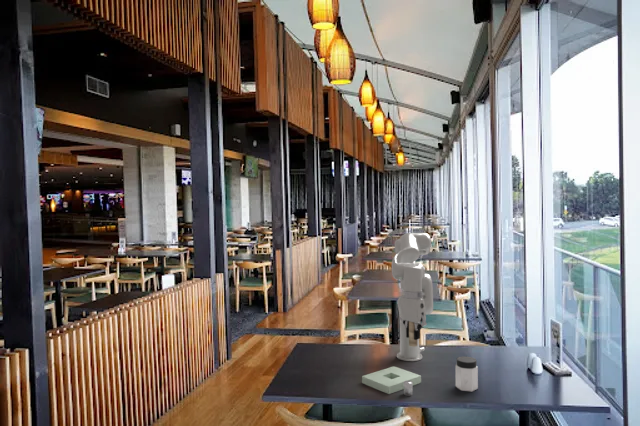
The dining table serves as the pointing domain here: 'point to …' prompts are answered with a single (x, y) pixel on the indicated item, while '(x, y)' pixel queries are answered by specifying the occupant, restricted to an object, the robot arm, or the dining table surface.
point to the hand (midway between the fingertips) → (413, 337)
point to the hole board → (390, 379)
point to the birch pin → (412, 335)
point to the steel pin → (408, 388)
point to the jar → (466, 373)
